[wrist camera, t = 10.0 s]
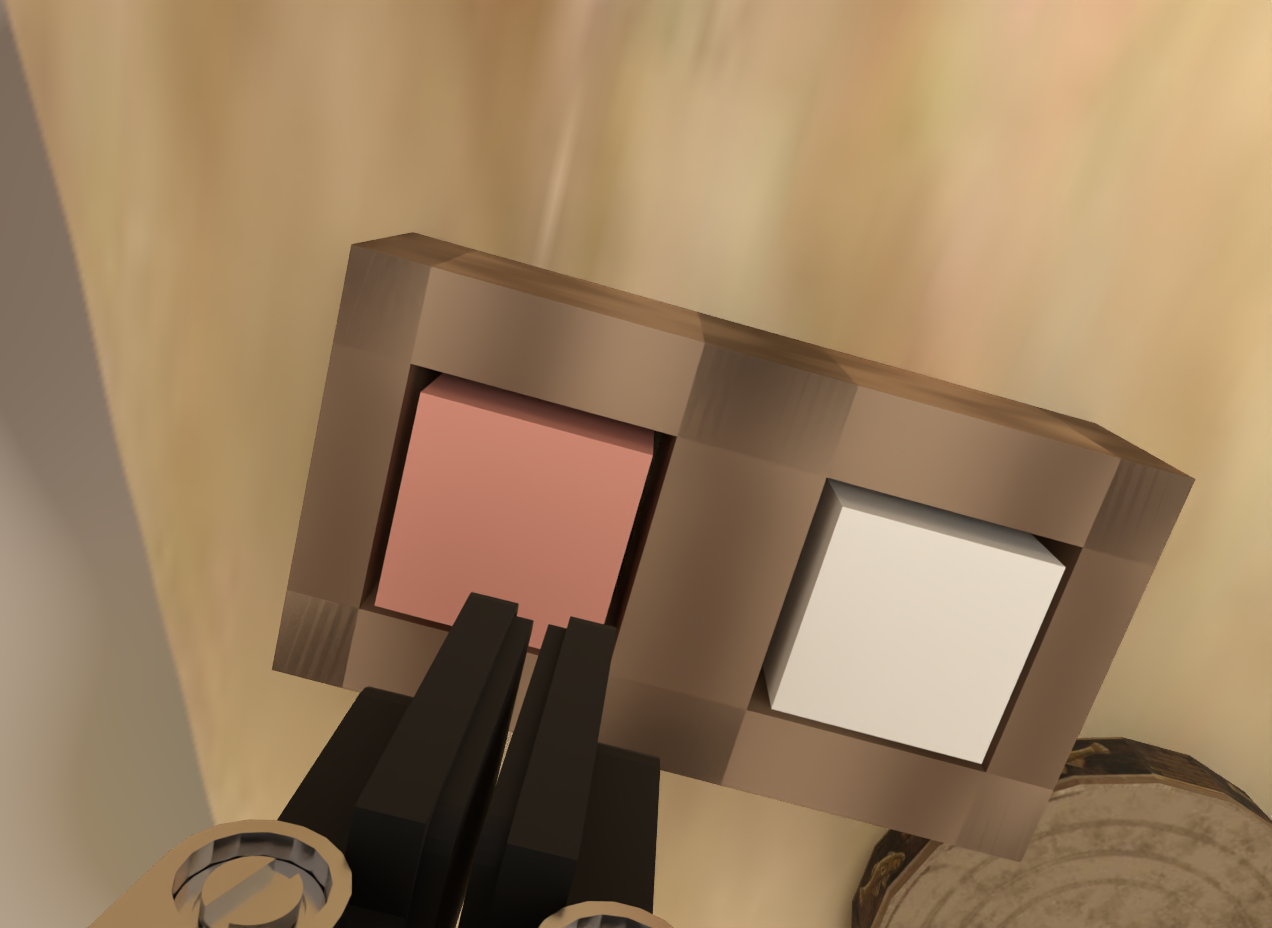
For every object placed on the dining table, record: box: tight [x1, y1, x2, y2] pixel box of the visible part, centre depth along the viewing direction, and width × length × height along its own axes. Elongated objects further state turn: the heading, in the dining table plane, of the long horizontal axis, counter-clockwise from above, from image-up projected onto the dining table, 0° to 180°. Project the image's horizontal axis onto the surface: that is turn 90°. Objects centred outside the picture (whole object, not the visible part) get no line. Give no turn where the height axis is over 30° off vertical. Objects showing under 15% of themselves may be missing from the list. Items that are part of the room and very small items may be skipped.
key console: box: [272, 232, 1195, 862], centre depth 29 cm, size 22×12×6 cm, turn 75°
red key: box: [375, 373, 654, 649], centre depth 28 cm, size 6×6×5 cm
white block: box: [763, 478, 1066, 764], centre depth 28 cm, size 6×6×5 cm
